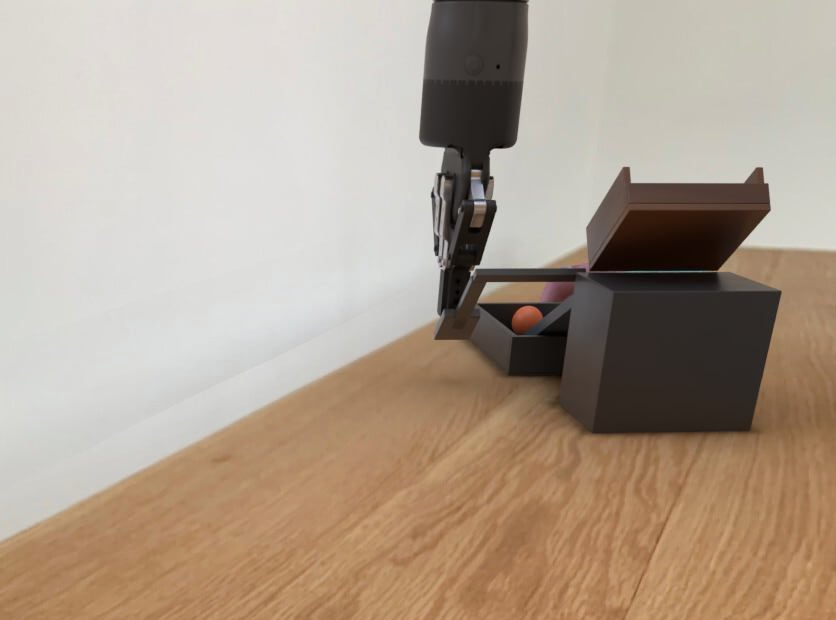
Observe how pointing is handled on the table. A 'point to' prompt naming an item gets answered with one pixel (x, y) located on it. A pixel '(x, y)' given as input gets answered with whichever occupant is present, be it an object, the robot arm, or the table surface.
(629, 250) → the tipping trough with lever
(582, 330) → the plinth
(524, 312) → the ball terracotta
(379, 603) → the table surface
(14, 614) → the table surface
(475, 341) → the tray
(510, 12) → the robot arm
